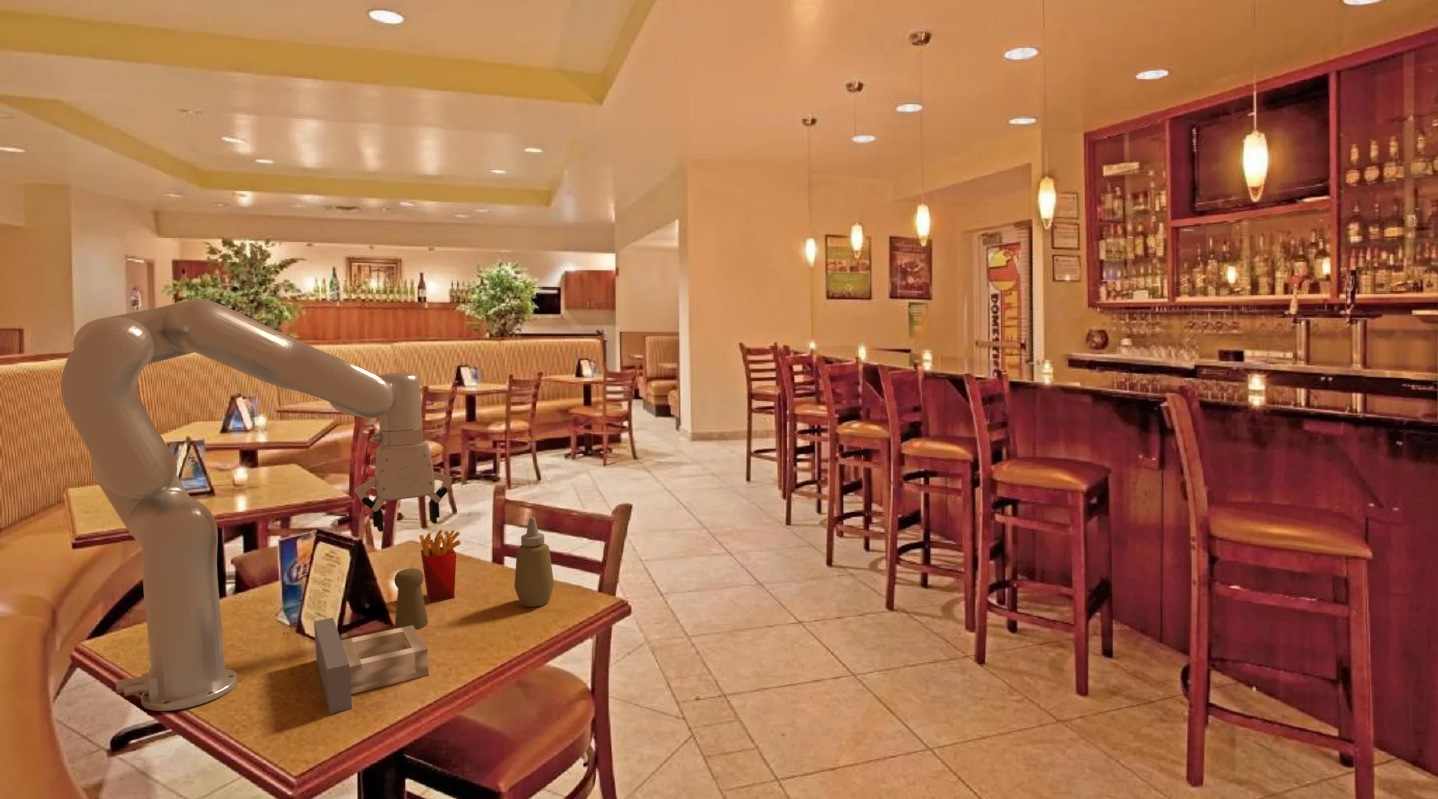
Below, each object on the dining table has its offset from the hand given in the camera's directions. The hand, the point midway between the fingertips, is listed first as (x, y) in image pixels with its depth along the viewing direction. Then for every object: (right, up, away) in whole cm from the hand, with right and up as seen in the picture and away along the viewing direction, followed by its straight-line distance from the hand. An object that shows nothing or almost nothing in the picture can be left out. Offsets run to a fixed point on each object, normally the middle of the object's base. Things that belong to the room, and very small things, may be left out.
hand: (407, 526), depth 146 cm
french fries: (+1, -18, +17) cm, 25 cm away
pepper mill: (0, -20, +2) cm, 20 cm away
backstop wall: (-3, -22, -21) cm, 31 cm away
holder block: (+3, -22, -17) cm, 28 cm away
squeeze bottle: (+21, -18, +13) cm, 31 cm away
